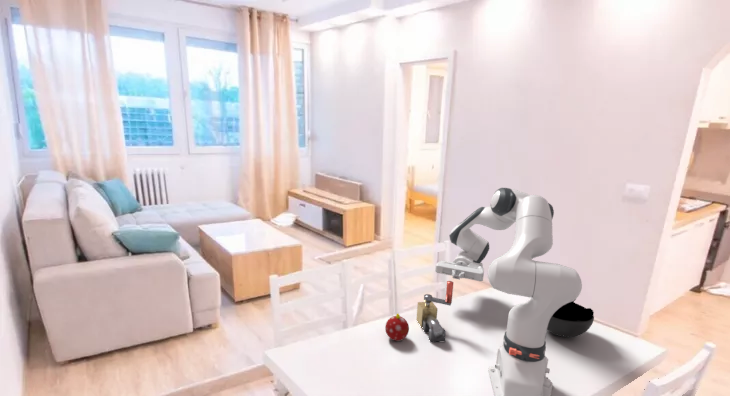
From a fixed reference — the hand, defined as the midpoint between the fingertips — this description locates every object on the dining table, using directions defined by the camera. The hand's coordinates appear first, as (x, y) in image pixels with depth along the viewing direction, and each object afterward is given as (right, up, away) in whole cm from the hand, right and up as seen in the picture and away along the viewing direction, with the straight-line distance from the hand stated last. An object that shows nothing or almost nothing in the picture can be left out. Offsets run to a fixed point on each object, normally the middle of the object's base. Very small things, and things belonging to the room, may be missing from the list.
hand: (456, 277), depth 155 cm
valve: (-12, -19, -10) cm, 25 cm away
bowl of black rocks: (+39, -21, -8) cm, 45 cm away
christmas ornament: (-26, -19, -16) cm, 36 cm away
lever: (-9, -8, -9) cm, 15 cm away
